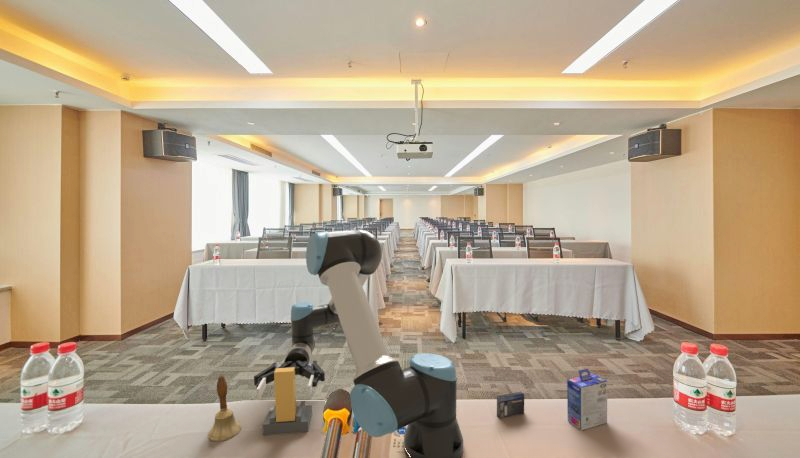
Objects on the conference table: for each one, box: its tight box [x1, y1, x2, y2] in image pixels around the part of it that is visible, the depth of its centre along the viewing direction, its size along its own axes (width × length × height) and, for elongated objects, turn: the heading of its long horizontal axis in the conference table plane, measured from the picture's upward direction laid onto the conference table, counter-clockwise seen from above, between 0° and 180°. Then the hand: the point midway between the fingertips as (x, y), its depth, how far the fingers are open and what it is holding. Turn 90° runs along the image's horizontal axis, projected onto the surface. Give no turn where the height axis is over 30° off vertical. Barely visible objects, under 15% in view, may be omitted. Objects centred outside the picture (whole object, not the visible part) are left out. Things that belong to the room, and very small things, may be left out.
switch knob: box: [273, 367, 297, 422], centre depth 99 cm, size 5×2×14 cm, turn 96°
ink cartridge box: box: [566, 368, 608, 431], centre depth 101 cm, size 10×6×14 cm, turn 110°
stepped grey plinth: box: [262, 400, 313, 436], centre depth 102 cm, size 12×8×4 cm, turn 96°
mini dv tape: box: [496, 391, 525, 419], centre depth 105 cm, size 8×2×6 cm, turn 106°
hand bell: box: [207, 375, 242, 442], centre depth 99 cm, size 8×8×16 cm
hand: (283, 392), depth 98 cm, fingers open, 13 cm apart
